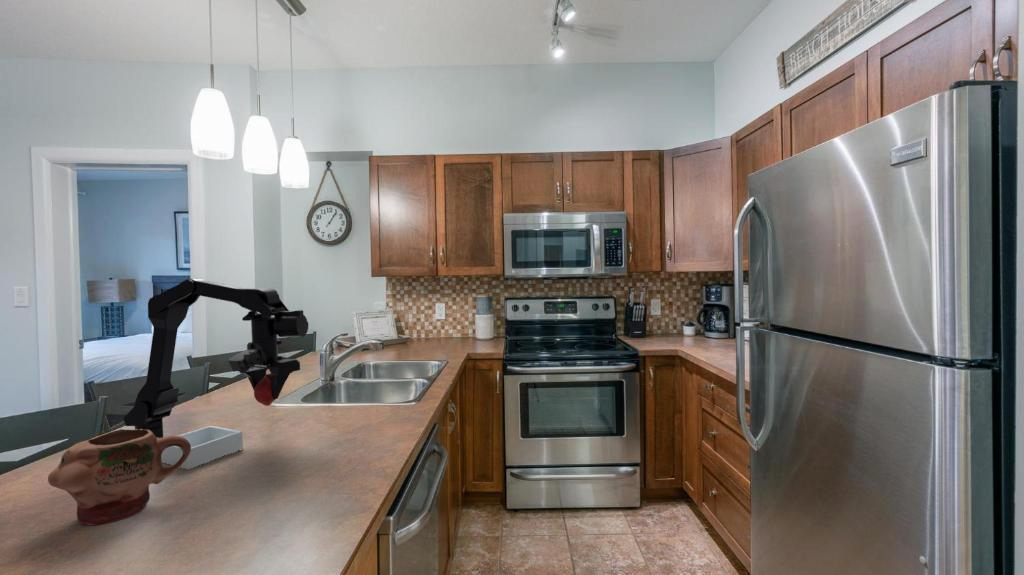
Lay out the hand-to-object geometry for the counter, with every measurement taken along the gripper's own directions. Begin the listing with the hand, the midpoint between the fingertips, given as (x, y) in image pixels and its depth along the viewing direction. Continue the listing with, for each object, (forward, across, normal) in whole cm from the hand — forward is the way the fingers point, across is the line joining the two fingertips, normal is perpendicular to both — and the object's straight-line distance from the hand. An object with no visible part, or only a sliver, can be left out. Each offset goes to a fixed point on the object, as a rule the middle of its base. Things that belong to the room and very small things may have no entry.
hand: (267, 397), depth 115 cm
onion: (+2, 0, 0) cm, 2 cm away
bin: (+12, -9, -11) cm, 19 cm away
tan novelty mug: (+12, +5, -33) cm, 35 cm away
